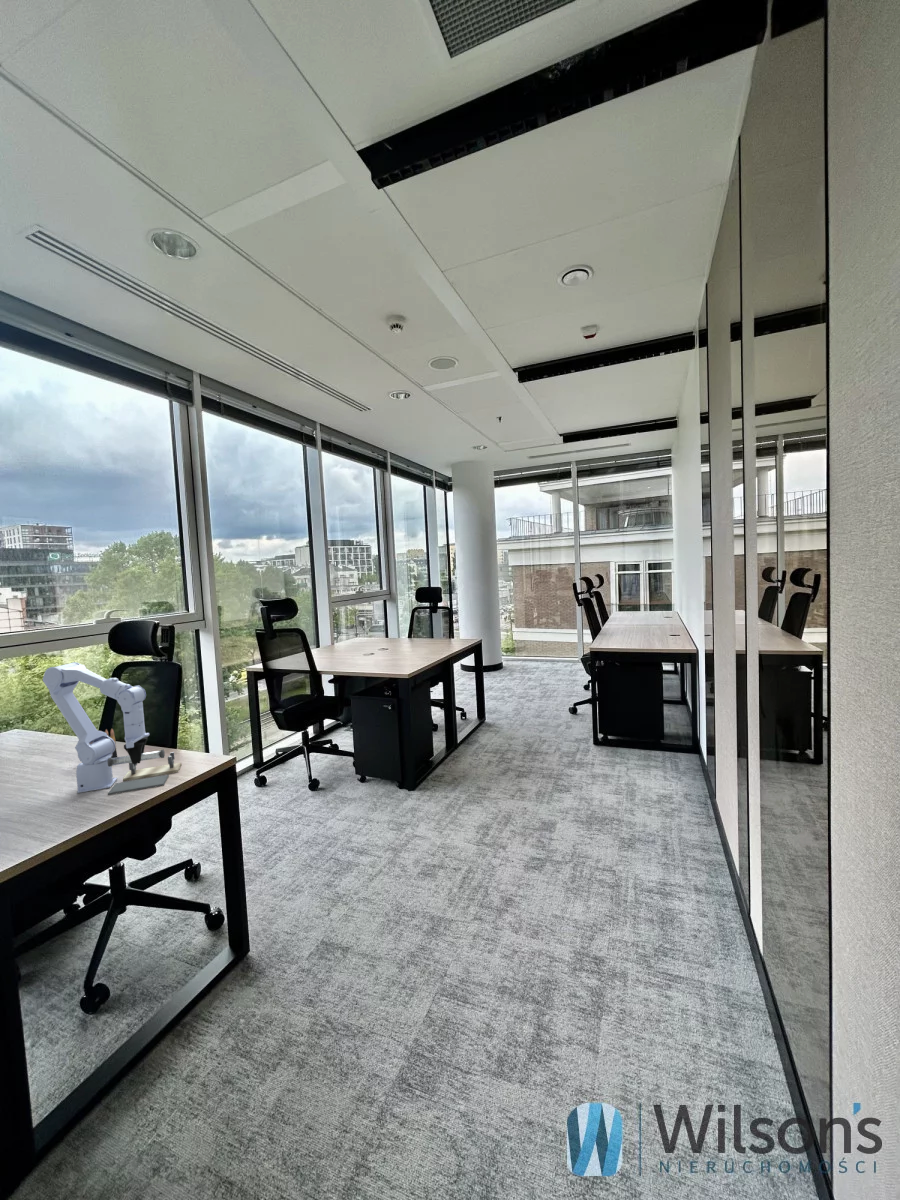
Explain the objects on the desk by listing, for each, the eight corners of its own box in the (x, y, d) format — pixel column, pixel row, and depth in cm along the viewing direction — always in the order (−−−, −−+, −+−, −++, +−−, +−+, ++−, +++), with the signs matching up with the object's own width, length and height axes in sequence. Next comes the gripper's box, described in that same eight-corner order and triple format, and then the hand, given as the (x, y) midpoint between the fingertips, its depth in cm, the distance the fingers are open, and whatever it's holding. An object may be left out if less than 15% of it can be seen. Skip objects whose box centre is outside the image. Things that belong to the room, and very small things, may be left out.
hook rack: (123, 781, 165) (121, 765, 165) (128, 773, 172) (127, 758, 172) (178, 772, 171) (176, 756, 171) (181, 765, 178) (180, 750, 177)
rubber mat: (108, 795, 155) (107, 793, 155) (115, 785, 162) (115, 783, 162) (163, 785, 161) (163, 783, 161) (168, 776, 168) (168, 774, 168)
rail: (108, 768, 157) (107, 760, 157) (110, 764, 160) (109, 756, 159) (163, 759, 163) (162, 751, 162) (164, 755, 165) (164, 748, 165)
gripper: (142, 727, 155) (145, 767, 156) (152, 715, 168) (156, 752, 169) (117, 730, 152) (120, 771, 153) (129, 718, 166) (133, 755, 167)
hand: (137, 761), depth 161 cm, fingers closed on rail, 2 cm apart
